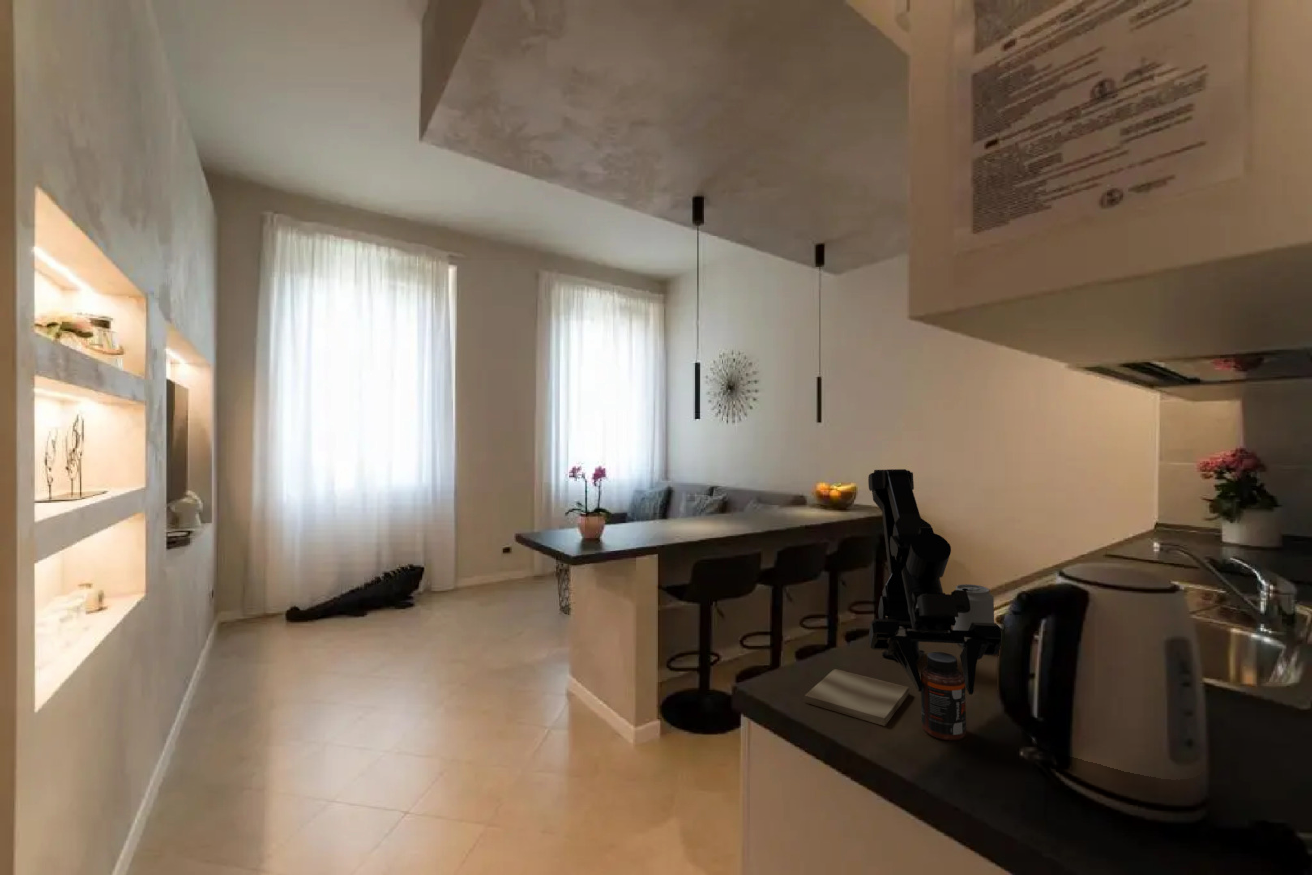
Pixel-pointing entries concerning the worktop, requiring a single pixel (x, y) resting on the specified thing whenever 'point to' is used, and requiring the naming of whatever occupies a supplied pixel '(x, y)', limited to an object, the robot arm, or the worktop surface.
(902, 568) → the robot arm
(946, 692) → the supplement bottle
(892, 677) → the worktop surface
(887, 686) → the beige square board
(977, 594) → the can
